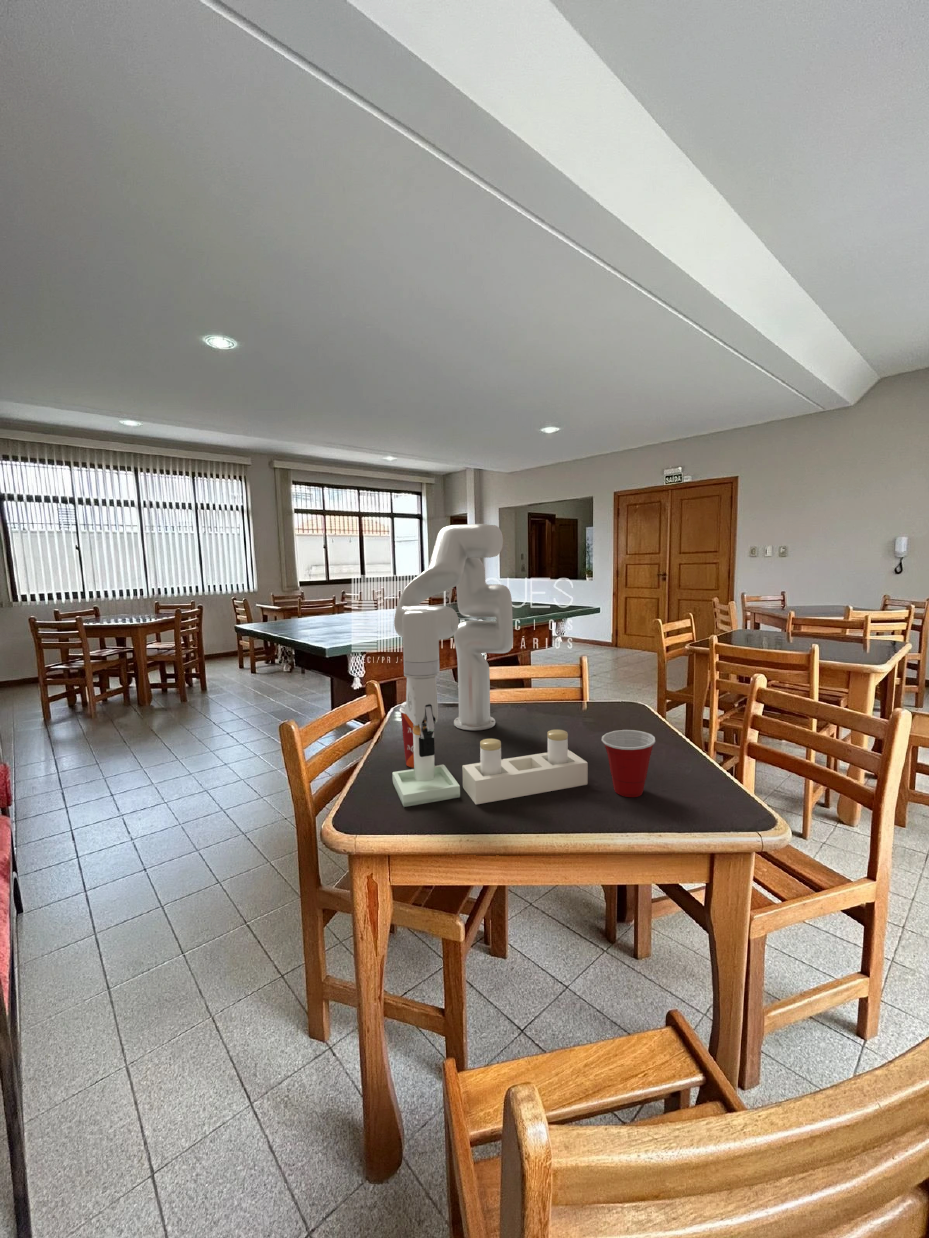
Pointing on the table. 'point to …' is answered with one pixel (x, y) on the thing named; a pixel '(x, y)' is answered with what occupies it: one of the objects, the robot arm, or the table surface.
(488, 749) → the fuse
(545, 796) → the table surface
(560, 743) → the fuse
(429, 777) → the white and orange cylinder
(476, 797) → the holder
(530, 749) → the table surface
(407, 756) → the coffee cup
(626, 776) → the plastic cup
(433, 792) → the tray
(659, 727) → the table surface
